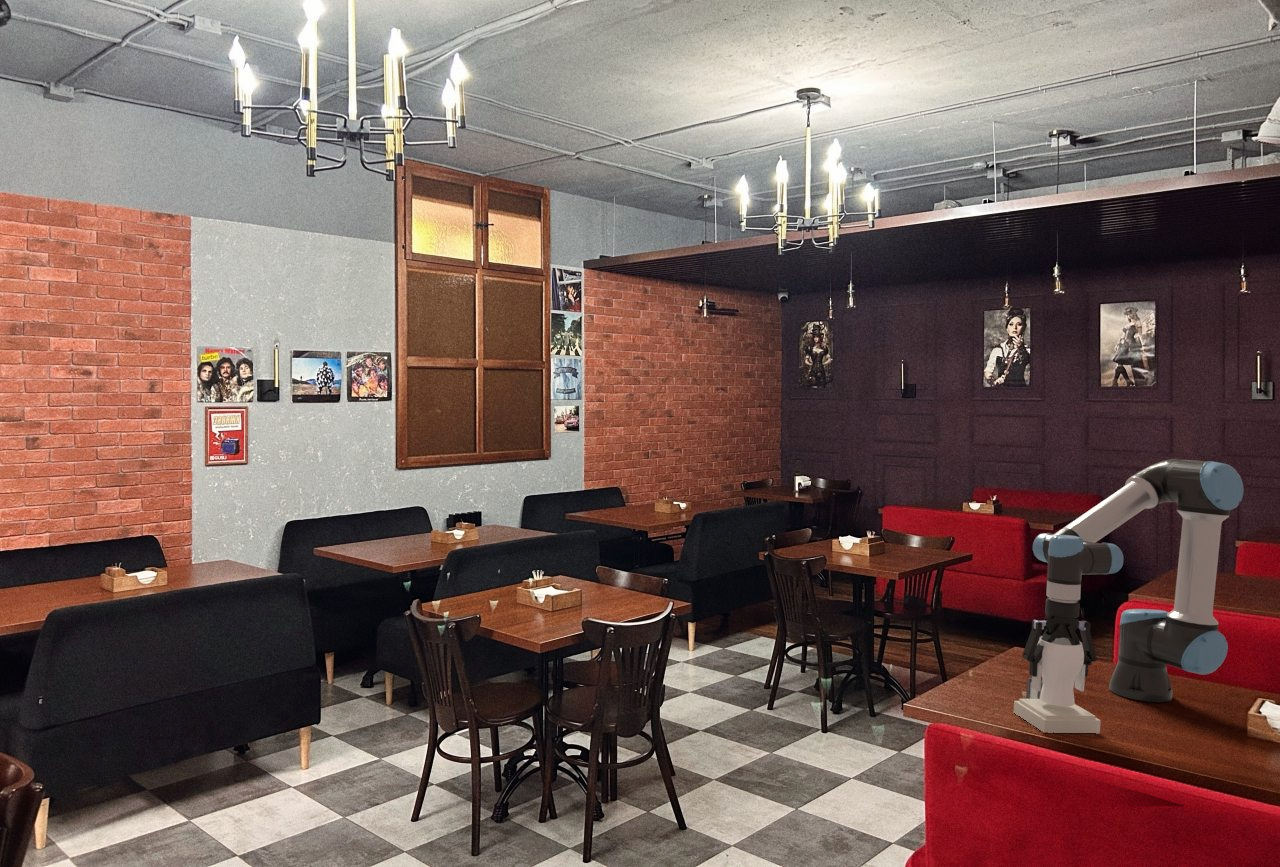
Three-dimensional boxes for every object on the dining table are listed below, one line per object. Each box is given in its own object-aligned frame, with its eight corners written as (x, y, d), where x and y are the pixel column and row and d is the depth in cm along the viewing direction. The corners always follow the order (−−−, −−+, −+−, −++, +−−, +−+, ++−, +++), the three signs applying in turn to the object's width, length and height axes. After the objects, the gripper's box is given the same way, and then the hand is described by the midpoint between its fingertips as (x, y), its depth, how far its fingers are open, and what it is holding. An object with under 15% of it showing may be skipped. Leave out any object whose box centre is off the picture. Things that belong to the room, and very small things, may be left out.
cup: (1086, 710, 219) (1090, 648, 218) (1038, 706, 221) (1042, 644, 220) (1074, 697, 229) (1078, 637, 229) (1029, 692, 231) (1032, 633, 231)
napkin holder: (1052, 701, 243) (1054, 674, 243) (1065, 705, 239) (1067, 679, 239) (1025, 705, 238) (1027, 678, 238) (1038, 710, 235) (1040, 683, 235)
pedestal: (1066, 713, 233) (1067, 697, 233) (1099, 733, 219) (1100, 717, 219) (1013, 713, 232) (1014, 697, 231) (1043, 733, 218) (1044, 717, 217)
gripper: (1098, 596, 229) (1092, 684, 230) (1009, 595, 227) (1004, 684, 228) (1116, 603, 222) (1111, 694, 223) (1025, 602, 219) (1020, 694, 220)
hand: (1057, 689), depth 225 cm, fingers closed on cup, 10 cm apart
